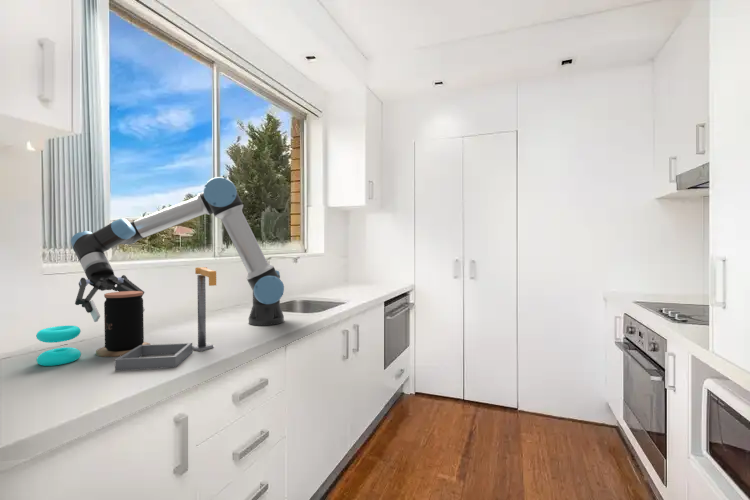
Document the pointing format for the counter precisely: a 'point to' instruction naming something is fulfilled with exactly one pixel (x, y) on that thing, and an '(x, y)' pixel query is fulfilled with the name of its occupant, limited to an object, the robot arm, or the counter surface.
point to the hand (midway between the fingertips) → (121, 315)
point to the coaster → (105, 353)
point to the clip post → (201, 316)
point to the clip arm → (207, 274)
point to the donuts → (58, 354)
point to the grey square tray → (134, 362)
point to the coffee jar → (123, 320)
